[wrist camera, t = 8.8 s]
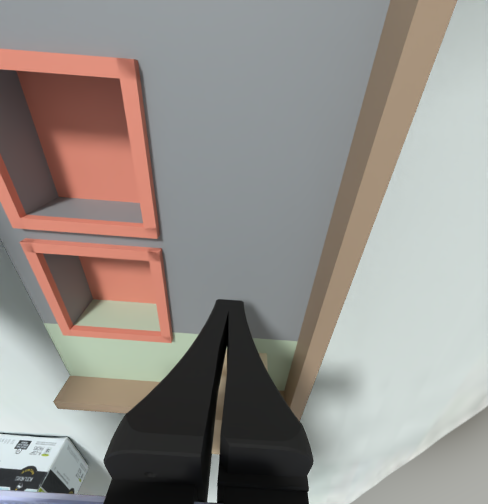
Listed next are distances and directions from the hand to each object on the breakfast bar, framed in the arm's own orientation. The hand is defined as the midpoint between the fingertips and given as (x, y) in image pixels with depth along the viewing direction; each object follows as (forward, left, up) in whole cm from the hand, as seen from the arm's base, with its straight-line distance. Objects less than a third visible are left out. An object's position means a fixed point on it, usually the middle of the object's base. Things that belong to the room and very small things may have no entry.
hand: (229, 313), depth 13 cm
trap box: (-3, +1, -5) cm, 6 cm away
